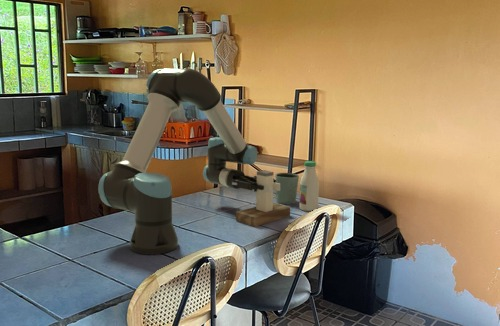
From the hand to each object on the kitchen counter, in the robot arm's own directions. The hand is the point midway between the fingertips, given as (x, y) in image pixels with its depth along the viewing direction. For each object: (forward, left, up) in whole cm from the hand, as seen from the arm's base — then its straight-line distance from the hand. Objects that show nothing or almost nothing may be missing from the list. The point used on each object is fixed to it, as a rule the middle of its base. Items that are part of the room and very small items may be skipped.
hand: (275, 188), depth 183 cm
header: (-5, +3, -13) cm, 14 cm away
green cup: (-1, +30, -13) cm, 33 cm away
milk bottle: (+10, +21, -13) cm, 27 cm away
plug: (-5, +3, -10) cm, 11 cm away
